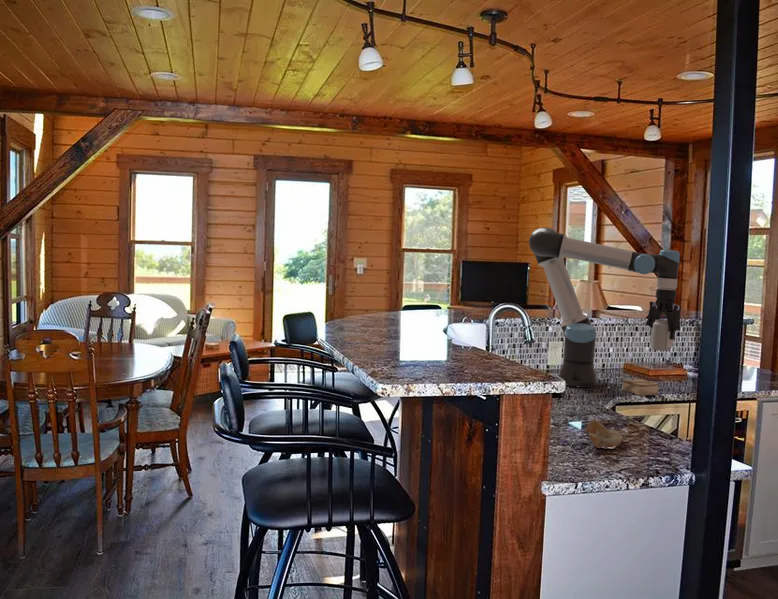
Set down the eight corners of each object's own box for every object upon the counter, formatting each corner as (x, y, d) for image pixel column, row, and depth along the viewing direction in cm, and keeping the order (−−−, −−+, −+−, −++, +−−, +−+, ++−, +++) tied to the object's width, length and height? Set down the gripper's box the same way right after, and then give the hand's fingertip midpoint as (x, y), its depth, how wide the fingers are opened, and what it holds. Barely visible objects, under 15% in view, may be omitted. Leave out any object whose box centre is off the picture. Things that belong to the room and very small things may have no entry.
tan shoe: (576, 451, 190) (579, 415, 189) (604, 435, 207) (606, 402, 206) (607, 459, 185) (610, 422, 184) (633, 442, 202) (636, 407, 201)
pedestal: (622, 390, 272) (623, 380, 272) (639, 388, 276) (640, 378, 276) (640, 395, 264) (641, 385, 264) (657, 394, 268) (658, 383, 268)
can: (667, 348, 286) (670, 319, 285) (673, 351, 279) (676, 321, 278) (648, 347, 287) (651, 318, 286) (653, 350, 280) (656, 320, 278)
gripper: (694, 291, 273) (688, 349, 276) (653, 286, 291) (648, 341, 294) (680, 291, 270) (675, 350, 272) (640, 286, 288) (634, 341, 290)
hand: (661, 345), depth 283 cm, fingers closed on can, 7 cm apart
